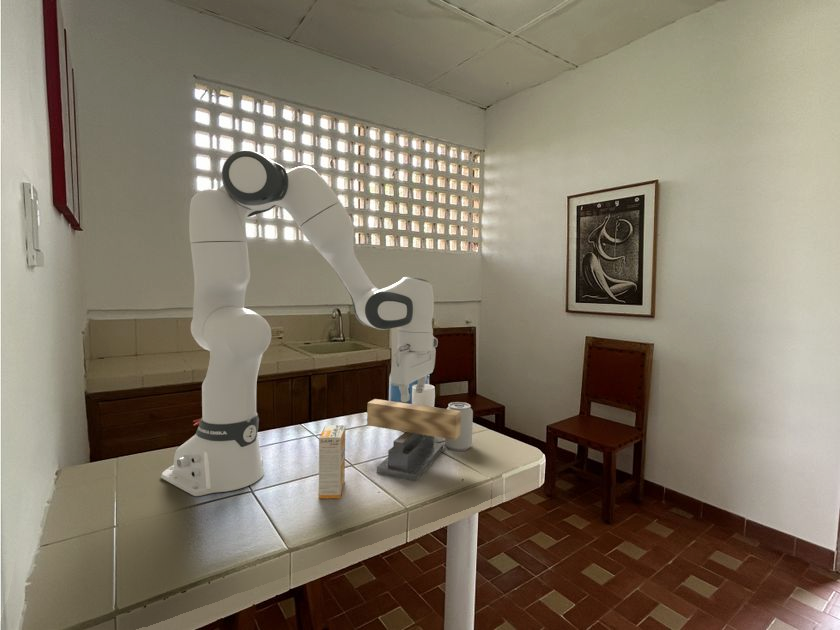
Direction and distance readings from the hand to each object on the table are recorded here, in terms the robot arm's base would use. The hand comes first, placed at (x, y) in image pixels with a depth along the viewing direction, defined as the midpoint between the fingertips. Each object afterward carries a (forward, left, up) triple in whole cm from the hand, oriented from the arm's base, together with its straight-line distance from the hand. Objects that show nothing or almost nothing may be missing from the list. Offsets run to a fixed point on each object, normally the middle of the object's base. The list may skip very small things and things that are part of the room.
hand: (413, 396), depth 104 cm
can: (+8, +14, -17) cm, 23 cm away
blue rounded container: (-14, +30, -17) cm, 37 cm away
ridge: (0, 0, -17) cm, 17 cm away
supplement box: (-10, -21, -17) cm, 29 cm away
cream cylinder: (-4, +17, -17) cm, 24 cm away
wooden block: (0, 0, -9) cm, 9 cm away
